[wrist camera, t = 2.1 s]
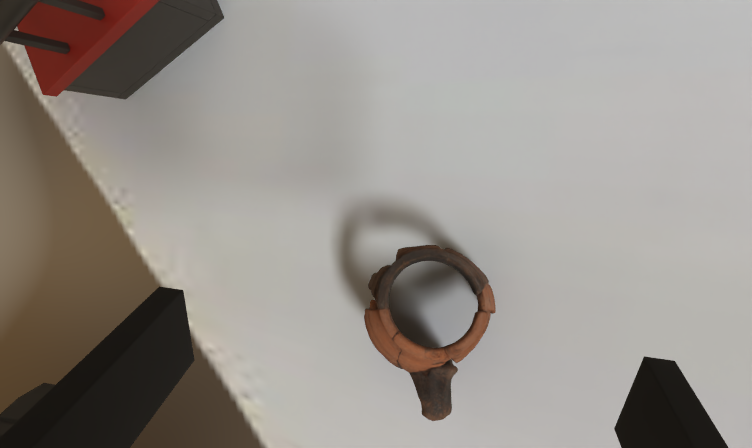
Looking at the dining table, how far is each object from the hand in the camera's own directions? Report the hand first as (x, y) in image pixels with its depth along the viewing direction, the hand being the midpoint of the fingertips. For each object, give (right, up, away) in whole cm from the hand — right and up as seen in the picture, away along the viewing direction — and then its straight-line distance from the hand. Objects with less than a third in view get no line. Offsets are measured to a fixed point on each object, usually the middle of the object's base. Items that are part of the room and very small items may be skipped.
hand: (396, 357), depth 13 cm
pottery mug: (+3, -3, +19) cm, 20 cm away
